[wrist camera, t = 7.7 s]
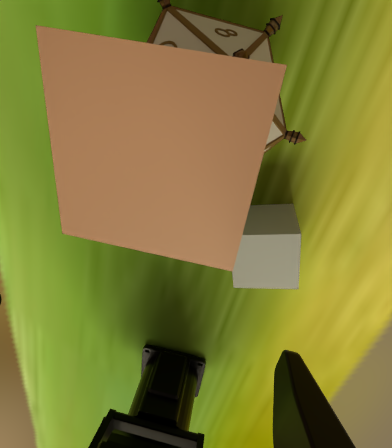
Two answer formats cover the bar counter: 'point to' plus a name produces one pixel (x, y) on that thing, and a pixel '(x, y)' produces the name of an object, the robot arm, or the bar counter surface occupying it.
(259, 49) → the game die
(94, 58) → the terracotta block
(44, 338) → the bar counter surface
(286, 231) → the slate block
